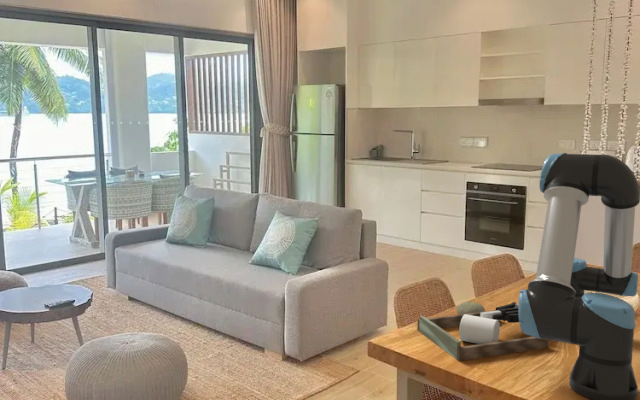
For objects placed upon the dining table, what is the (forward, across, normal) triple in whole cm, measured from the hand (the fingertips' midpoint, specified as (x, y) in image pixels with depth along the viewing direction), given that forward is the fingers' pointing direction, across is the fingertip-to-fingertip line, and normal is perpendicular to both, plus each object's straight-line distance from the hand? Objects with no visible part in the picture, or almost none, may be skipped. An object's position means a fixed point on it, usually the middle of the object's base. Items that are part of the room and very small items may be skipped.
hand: (481, 317), depth 172 cm
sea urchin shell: (-8, +18, -7) cm, 20 cm away
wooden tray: (+1, -1, -6) cm, 6 cm away
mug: (+1, -2, -7) cm, 7 cm away
